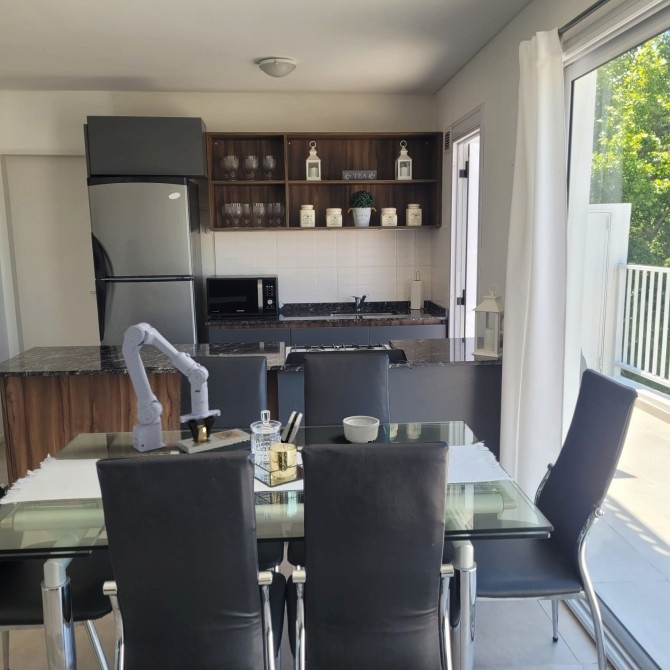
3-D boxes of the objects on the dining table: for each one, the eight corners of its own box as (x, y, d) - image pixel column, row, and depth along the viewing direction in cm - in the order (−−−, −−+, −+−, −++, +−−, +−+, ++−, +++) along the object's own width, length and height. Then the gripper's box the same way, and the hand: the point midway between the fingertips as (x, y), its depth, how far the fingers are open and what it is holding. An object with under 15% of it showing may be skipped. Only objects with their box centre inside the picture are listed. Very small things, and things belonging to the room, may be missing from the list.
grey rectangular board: (189, 453, 199) (188, 447, 199) (177, 446, 207) (177, 440, 206) (250, 439, 213) (250, 434, 213) (237, 433, 221) (237, 428, 221)
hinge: (284, 429, 226) (293, 405, 225) (296, 433, 226) (304, 409, 225) (277, 442, 210) (286, 417, 208) (289, 447, 210) (298, 422, 208)
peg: (198, 448, 204) (198, 429, 203) (194, 445, 207) (193, 426, 207) (209, 445, 207) (208, 426, 206) (204, 443, 210) (203, 424, 209)
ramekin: (382, 434, 218) (382, 416, 217) (375, 445, 205) (375, 426, 204) (347, 432, 221) (347, 414, 220) (339, 443, 209) (339, 424, 208)
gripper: (184, 406, 197) (186, 445, 199) (223, 400, 206) (225, 437, 208) (176, 402, 203) (178, 440, 205) (214, 396, 212) (216, 432, 214)
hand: (201, 438), depth 207 cm, fingers closed on peg, 4 cm apart
